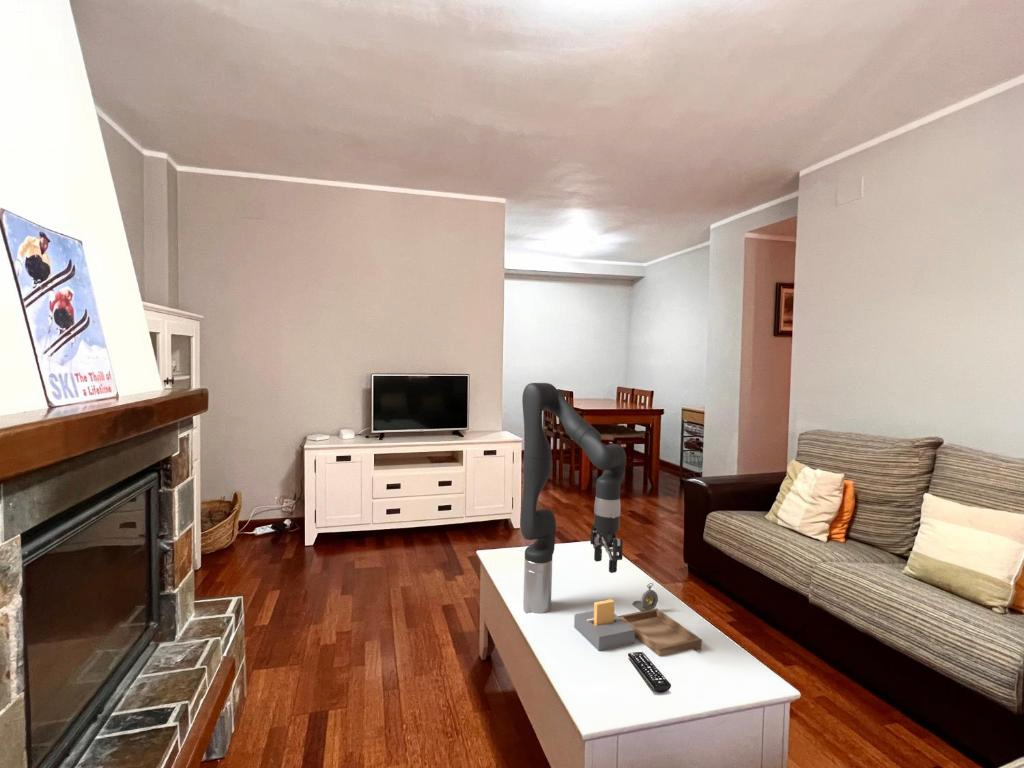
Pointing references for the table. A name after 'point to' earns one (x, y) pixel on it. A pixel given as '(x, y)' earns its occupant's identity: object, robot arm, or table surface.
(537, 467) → the robot arm
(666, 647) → the tray
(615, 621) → the dispenser
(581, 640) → the table surface
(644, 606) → the pocket watch
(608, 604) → the yellow rectangular block
